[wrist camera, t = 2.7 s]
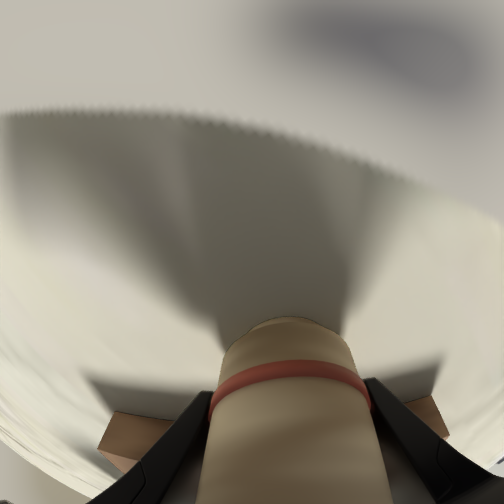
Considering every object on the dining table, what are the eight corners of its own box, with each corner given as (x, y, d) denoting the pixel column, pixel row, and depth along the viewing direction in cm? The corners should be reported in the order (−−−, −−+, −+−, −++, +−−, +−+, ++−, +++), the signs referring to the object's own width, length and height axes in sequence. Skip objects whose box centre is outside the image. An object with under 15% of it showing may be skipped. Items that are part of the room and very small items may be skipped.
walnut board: (431, 395, 11) (449, 435, 8) (371, 485, 16) (375, 508, 14) (114, 411, 12) (97, 449, 10) (189, 493, 18) (184, 516, 15)
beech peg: (353, 294, 9) (446, 534, 1) (342, 386, 10) (373, 555, 3) (211, 306, 9) (138, 556, 2) (233, 395, 11) (210, 565, 3)
